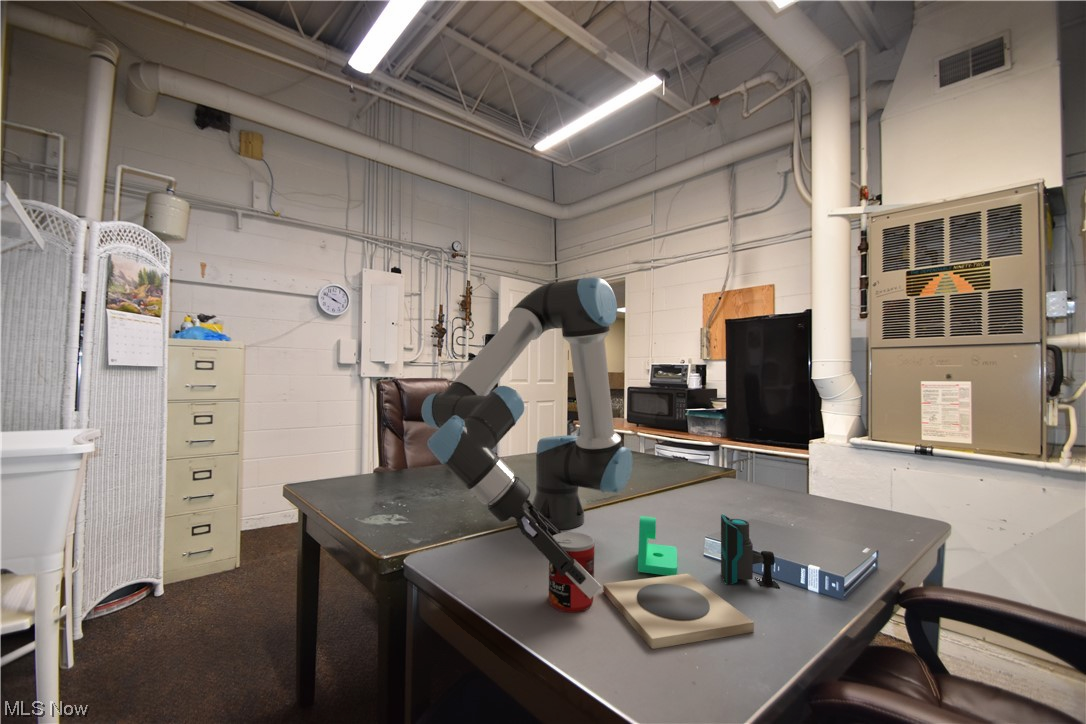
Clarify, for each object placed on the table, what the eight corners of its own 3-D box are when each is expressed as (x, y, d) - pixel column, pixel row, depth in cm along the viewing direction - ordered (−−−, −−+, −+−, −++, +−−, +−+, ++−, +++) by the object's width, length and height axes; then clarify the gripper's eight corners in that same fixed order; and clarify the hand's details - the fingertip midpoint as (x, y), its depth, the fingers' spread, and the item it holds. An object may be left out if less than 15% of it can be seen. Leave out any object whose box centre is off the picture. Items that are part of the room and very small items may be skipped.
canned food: (541, 596, 82) (542, 534, 82) (580, 588, 85) (581, 529, 86) (559, 617, 75) (560, 550, 75) (601, 608, 78) (602, 544, 79)
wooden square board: (603, 591, 84) (603, 582, 84) (687, 581, 89) (687, 571, 89) (652, 649, 67) (652, 636, 67) (753, 631, 72) (753, 620, 72)
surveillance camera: (781, 526, 86) (725, 522, 88) (781, 591, 86) (725, 585, 88) (772, 517, 91) (720, 513, 93) (773, 577, 91) (720, 572, 93)
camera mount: (677, 582, 89) (677, 529, 89) (637, 577, 91) (638, 525, 91) (676, 558, 100) (676, 511, 101) (641, 554, 102) (641, 508, 103)
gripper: (486, 490, 89) (566, 571, 90) (484, 525, 69) (586, 628, 70) (514, 463, 90) (592, 543, 91) (519, 490, 70) (620, 593, 71)
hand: (590, 580), depth 81 cm, fingers closed on canned food, 8 cm apart
